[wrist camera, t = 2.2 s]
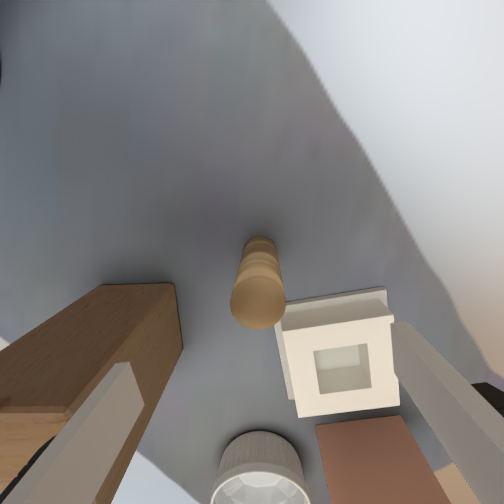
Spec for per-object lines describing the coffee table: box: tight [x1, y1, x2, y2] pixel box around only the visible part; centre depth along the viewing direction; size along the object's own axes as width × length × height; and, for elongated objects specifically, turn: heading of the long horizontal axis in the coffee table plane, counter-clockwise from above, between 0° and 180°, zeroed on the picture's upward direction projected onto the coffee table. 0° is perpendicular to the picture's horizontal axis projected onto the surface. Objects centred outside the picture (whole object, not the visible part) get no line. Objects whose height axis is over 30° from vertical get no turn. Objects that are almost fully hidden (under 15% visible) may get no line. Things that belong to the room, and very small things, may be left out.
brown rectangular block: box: [315, 415, 451, 504], centre depth 30 cm, size 7×12×18 cm, turn 101°
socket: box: [274, 287, 400, 418], centre depth 34 cm, size 14×14×5 cm
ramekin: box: [210, 431, 311, 504], centre depth 39 cm, size 13×13×7 cm
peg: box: [230, 237, 286, 329], centre depth 26 cm, size 4×4×14 cm
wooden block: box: [0, 283, 183, 504], centre depth 27 cm, size 10×10×20 cm
